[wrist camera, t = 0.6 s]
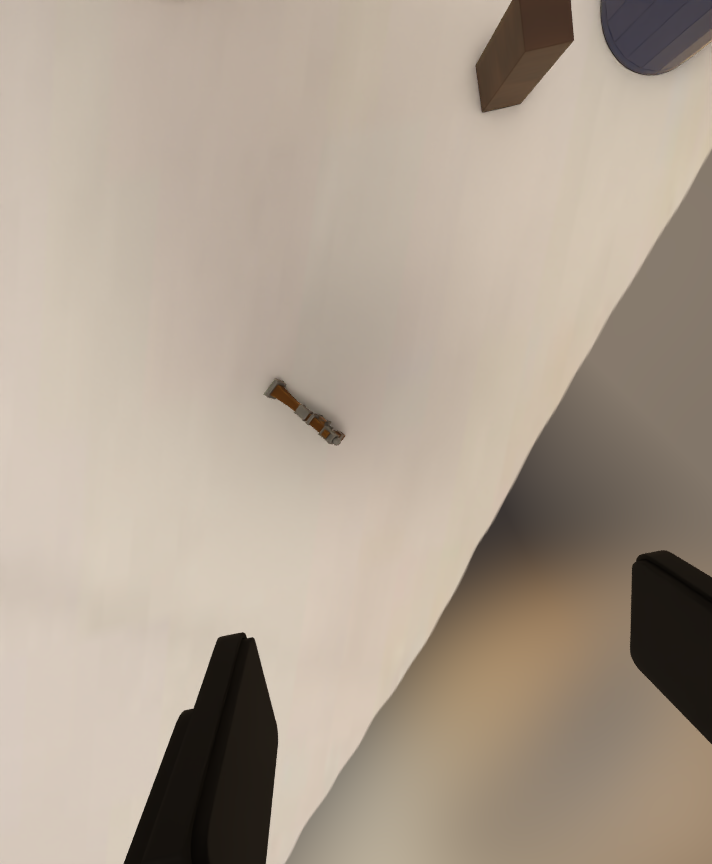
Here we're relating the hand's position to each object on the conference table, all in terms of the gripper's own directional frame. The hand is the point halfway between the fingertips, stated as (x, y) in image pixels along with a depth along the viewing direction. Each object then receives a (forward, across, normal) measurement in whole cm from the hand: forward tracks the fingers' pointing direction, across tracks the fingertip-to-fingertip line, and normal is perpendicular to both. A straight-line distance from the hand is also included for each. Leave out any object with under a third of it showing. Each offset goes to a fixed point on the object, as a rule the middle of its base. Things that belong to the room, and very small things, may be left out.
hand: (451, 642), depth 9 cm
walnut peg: (+29, -16, -25) cm, 41 cm away
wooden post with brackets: (+29, +4, -2) cm, 29 cm away
